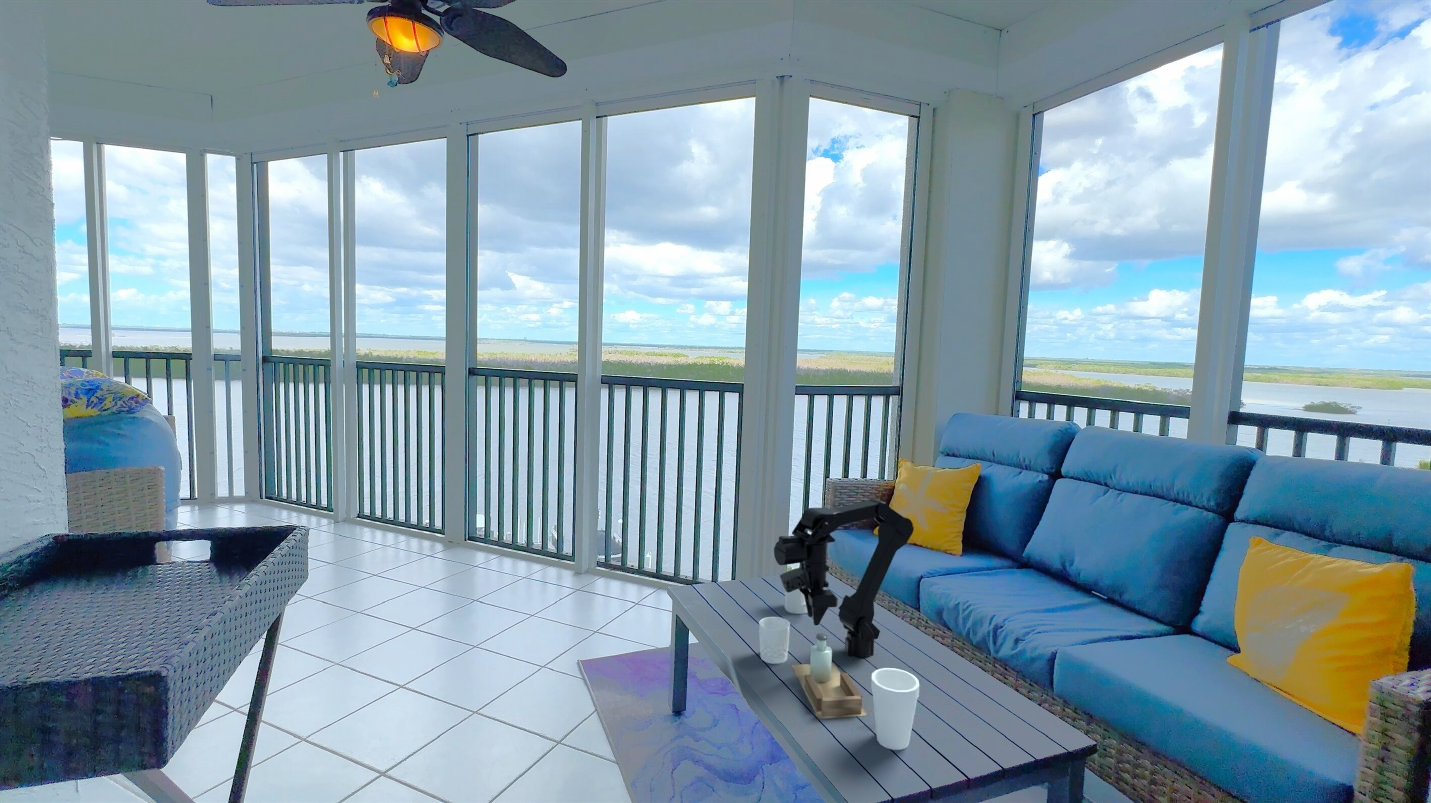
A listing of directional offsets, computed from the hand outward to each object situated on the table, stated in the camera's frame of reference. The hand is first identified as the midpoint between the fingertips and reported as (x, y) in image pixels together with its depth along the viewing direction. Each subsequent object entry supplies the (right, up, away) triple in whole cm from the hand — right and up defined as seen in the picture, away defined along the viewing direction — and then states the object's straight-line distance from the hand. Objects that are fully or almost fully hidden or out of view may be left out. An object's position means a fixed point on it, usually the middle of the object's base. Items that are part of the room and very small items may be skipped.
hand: (813, 620), depth 158 cm
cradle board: (+1, -13, -11) cm, 17 cm away
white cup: (-10, -12, +4) cm, 16 cm away
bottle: (+1, -12, -6) cm, 13 cm away
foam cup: (+12, -15, -29) cm, 34 cm away
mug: (+1, -9, +34) cm, 36 cm away
